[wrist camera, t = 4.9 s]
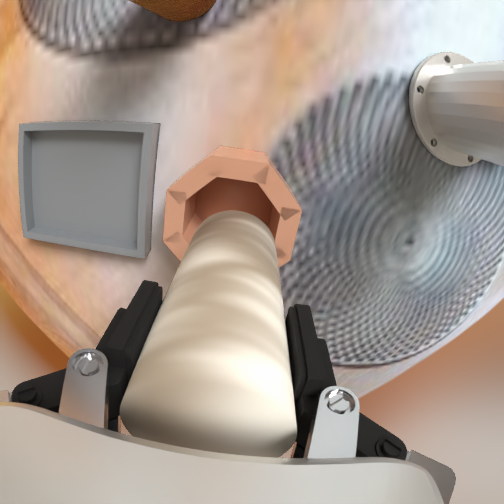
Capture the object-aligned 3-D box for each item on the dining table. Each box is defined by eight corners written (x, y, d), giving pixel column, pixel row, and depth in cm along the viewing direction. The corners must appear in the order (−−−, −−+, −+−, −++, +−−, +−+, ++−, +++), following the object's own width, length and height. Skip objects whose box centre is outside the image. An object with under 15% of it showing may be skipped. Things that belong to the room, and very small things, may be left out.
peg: (283, 218, 17) (321, 393, 6) (267, 292, 19) (274, 473, 9) (195, 204, 17) (106, 360, 6) (188, 280, 19) (131, 452, 8)
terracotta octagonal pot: (296, 158, 27) (310, 171, 21) (276, 255, 32) (282, 291, 25) (189, 142, 27) (170, 150, 20) (179, 240, 31) (161, 274, 25)
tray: (160, 123, 26) (153, 124, 24) (150, 249, 31) (144, 258, 29) (31, 122, 25) (19, 124, 23) (33, 230, 30) (23, 237, 28)
